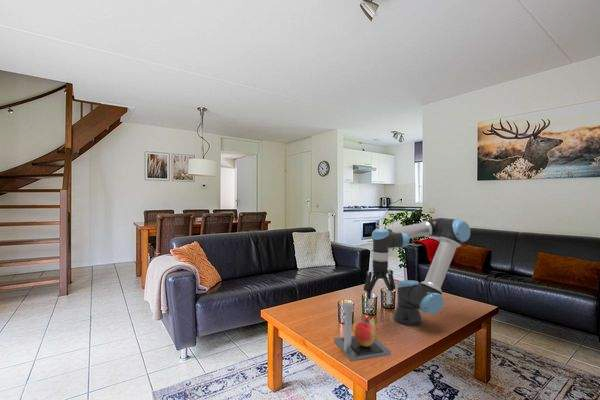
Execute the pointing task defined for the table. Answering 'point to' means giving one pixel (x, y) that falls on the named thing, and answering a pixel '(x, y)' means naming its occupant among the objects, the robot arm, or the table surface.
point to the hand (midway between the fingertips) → (379, 303)
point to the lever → (366, 319)
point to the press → (351, 345)
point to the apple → (365, 334)
